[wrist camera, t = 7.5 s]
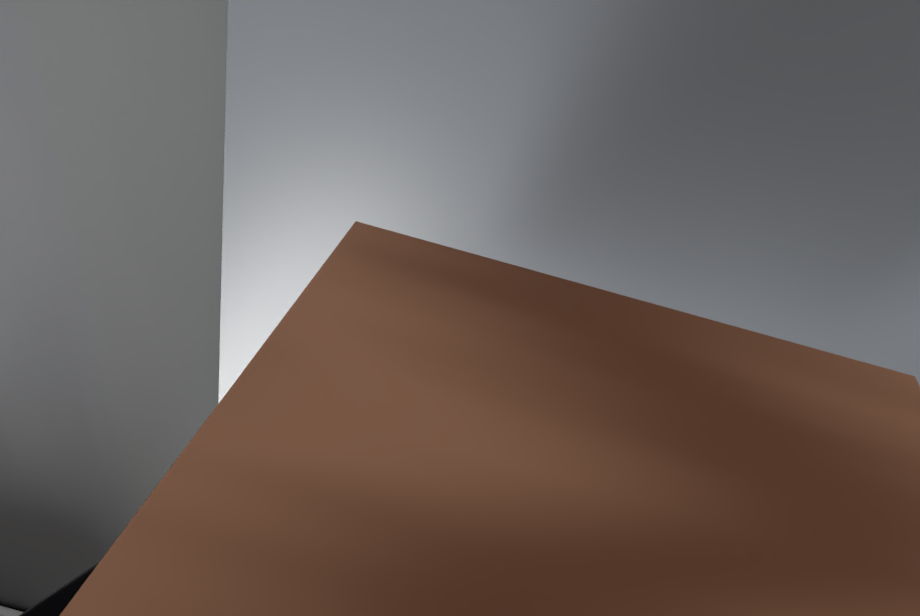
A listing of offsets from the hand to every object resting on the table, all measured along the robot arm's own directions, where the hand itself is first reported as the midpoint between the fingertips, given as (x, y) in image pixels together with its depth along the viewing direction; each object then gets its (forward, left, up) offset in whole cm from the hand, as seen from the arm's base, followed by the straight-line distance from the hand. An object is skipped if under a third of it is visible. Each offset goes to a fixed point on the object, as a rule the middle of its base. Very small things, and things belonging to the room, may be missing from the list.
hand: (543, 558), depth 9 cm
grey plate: (0, 0, -8) cm, 8 cm away
